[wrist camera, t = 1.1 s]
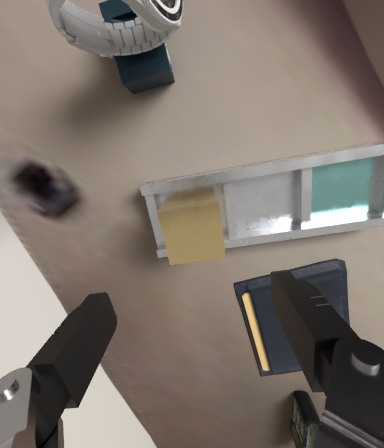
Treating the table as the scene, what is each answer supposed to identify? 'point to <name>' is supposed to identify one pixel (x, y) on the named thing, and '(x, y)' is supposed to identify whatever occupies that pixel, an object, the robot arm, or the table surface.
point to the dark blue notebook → (268, 322)
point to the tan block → (192, 227)
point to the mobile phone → (304, 421)
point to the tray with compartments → (287, 196)
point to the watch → (124, 36)
